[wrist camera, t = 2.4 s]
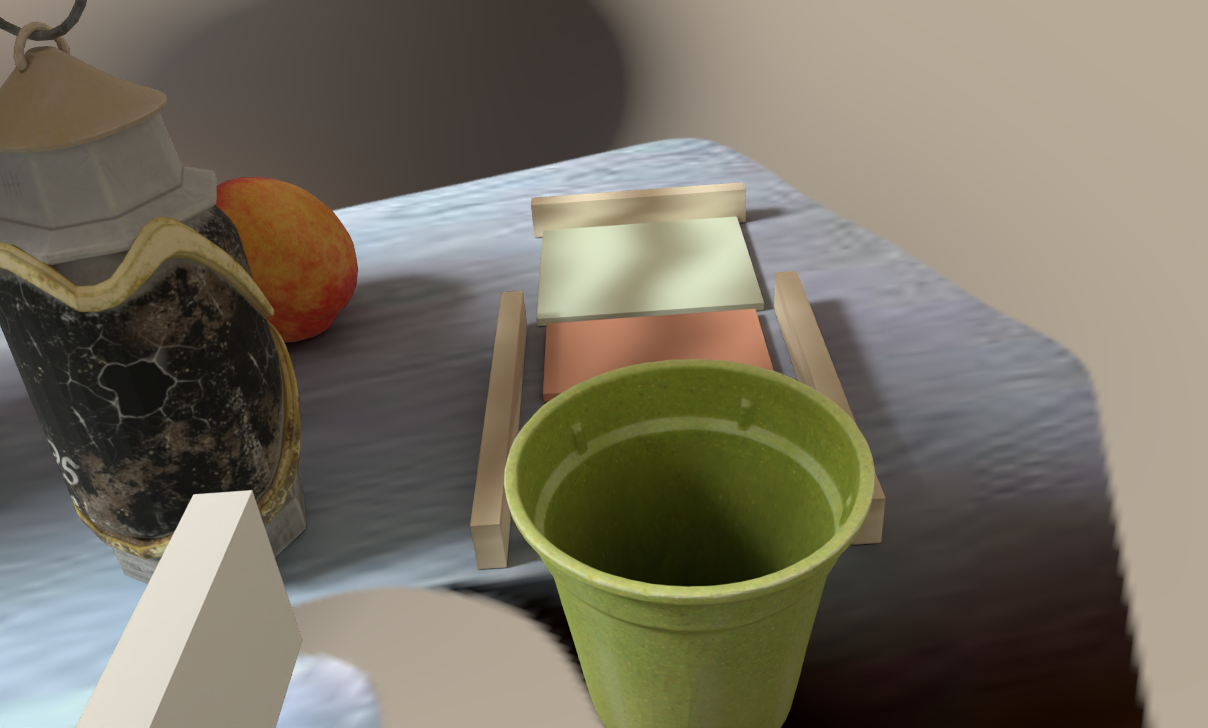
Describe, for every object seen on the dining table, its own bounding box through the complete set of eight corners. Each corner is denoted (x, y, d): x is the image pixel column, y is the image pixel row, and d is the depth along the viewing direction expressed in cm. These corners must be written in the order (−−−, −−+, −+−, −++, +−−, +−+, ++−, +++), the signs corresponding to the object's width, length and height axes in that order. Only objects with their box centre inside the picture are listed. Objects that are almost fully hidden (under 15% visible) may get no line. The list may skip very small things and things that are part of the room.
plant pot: (890, 625, 32) (917, 399, 27) (790, 888, 25) (803, 647, 20) (626, 542, 36) (610, 333, 31) (478, 749, 29) (429, 521, 24)
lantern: (51, 569, 37) (-344, -223, 23) (214, 443, 43) (-25, -246, 29) (227, 642, 33) (-118, -244, 20) (378, 493, 39) (192, -265, 26)
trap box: (478, 569, 35) (470, 525, 34) (518, 231, 58) (514, 199, 57) (880, 542, 35) (885, 498, 34) (760, 213, 58) (761, 181, 57)
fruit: (309, 277, 55) (273, 137, 51) (402, 319, 51) (371, 169, 46) (177, 338, 51) (125, 190, 46) (267, 392, 46) (218, 232, 42)
